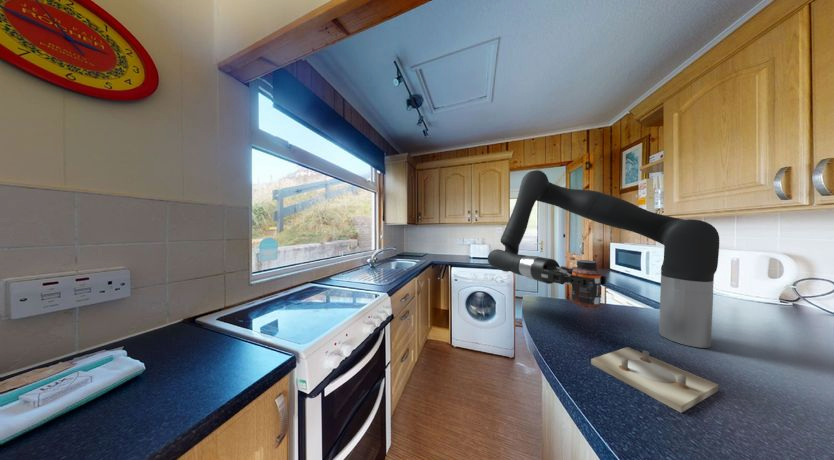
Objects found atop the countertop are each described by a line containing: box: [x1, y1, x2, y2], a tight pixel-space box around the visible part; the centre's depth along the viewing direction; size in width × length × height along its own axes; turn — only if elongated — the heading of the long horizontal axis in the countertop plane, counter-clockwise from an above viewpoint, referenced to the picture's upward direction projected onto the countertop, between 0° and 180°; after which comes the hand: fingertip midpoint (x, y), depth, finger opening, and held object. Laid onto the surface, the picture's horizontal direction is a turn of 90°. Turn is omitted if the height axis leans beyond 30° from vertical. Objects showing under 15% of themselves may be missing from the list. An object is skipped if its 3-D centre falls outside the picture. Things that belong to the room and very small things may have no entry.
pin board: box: [590, 346, 719, 414], centre depth 47 cm, size 14×14×3 cm
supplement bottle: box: [571, 259, 602, 309], centre depth 57 cm, size 6×6×11 cm
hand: (596, 281), depth 55 cm, fingers closed on supplement bottle, 6 cm apart
